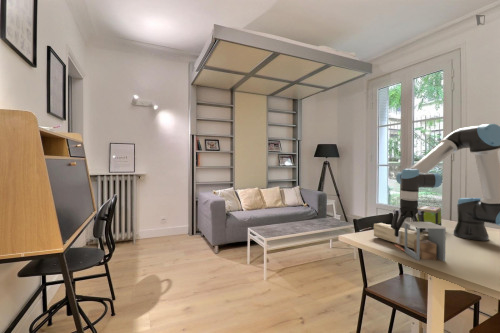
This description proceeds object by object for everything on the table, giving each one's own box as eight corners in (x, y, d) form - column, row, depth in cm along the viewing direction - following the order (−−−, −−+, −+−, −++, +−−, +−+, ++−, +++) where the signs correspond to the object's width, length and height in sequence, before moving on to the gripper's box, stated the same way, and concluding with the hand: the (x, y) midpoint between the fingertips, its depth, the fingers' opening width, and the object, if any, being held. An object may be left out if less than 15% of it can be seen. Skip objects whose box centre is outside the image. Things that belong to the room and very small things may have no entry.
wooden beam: (381, 234, 138) (381, 222, 138) (429, 249, 114) (429, 235, 114) (373, 235, 136) (373, 223, 136) (421, 251, 112) (421, 236, 112)
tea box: (423, 226, 163) (423, 205, 163) (442, 229, 156) (442, 207, 156) (416, 230, 154) (417, 207, 154) (436, 234, 146) (436, 210, 146)
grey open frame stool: (417, 246, 123) (418, 217, 123) (445, 261, 104) (445, 227, 104) (394, 246, 124) (394, 217, 124) (417, 260, 105) (417, 226, 105)
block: (427, 254, 112) (427, 239, 112) (436, 259, 106) (436, 244, 106) (414, 254, 112) (414, 239, 112) (421, 259, 106) (422, 243, 106)
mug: (393, 227, 161) (393, 211, 161) (397, 225, 167) (397, 209, 167) (414, 231, 152) (414, 214, 152) (417, 229, 158) (417, 212, 158)
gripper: (426, 198, 123) (424, 241, 124) (383, 197, 125) (382, 239, 126) (436, 201, 116) (434, 246, 117) (391, 200, 117) (389, 244, 118)
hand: (407, 243), depth 121 cm, fingers closed on wooden beam, 8 cm apart
